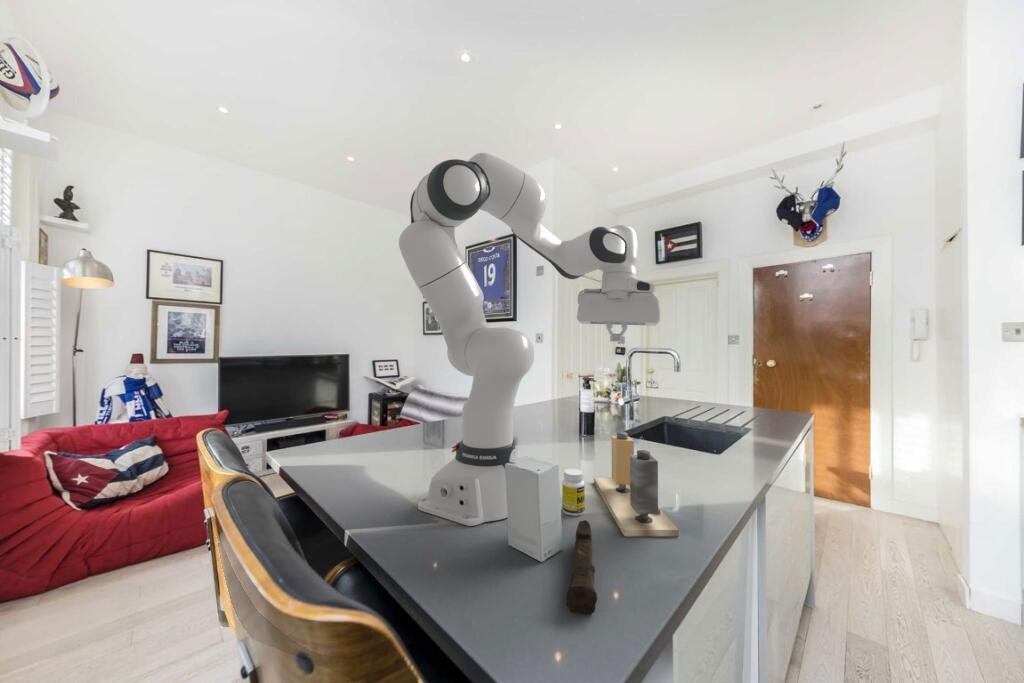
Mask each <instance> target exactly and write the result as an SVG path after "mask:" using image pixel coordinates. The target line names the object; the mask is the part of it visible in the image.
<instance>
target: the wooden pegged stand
mask: <svg viewBox="0 0 1024 683" xmlns="http://www.w3.org/2000/svg"><path fill="white" fill-rule="evenodd" d="M658 464H659V461H658V460H657V459H656V458H654V457H653V456H652V455H651V452H650V451H649V450H647V449H646V450H644V449H639V450H637V451H636V454H634V455H630V484H626V490H621V489H619V485H616V483H615V482H614V481H613V479H612V477H593V484H594V486H595V487H596V489H597V491H598V492H599V494H600V497H602V499H603V501H604V503H605V505H606V507H607V508H608V510H609V512H610V515H611V516H612V517H613V519H614V521H615V522H616V525H617V526H618V528H619V529H620V531H621V533H622V535H623V536H624V537H679V536H680V535H679V529H678V527H677V526H676V525H675V524H674V522H672V520H671V519H670V518H669V517H668V516H667V515H666V514H665V512H664V511H663V510H662V509H661V508H660V507H659V465H658Z"/></svg>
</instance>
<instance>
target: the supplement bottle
mask: <svg viewBox="0 0 1024 683" xmlns="http://www.w3.org/2000/svg"><path fill="white" fill-rule="evenodd" d="M561 484H562V486H561V488H562V490H561V492H562V493H561V494H562V497H561V500H562V502H561V505H562V506H561V508H562V509H561V511H562V512H563V513H564V514H565V515H568V516H573V517H578V516H582V515H583V514H584V513H585V510H586V502H585V501H586V495H585V494H586V492H585V491H586V488H585V486H586V484H585V481H584V472H583V470H581V469H578V468H567V469H564V471H563V480H562V483H561Z"/></svg>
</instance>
